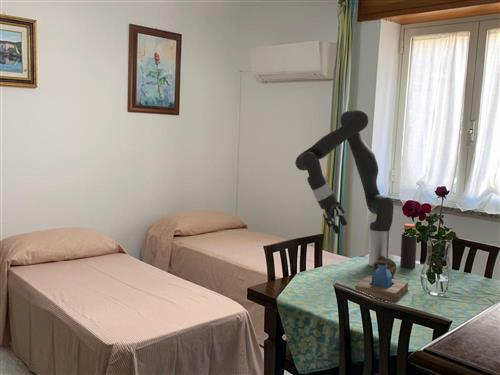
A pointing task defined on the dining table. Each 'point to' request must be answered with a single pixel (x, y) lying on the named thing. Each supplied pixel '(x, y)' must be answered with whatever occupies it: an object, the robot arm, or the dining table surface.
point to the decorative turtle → (390, 264)
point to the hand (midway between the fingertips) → (341, 229)
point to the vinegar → (408, 249)
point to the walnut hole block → (383, 289)
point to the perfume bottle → (382, 276)
